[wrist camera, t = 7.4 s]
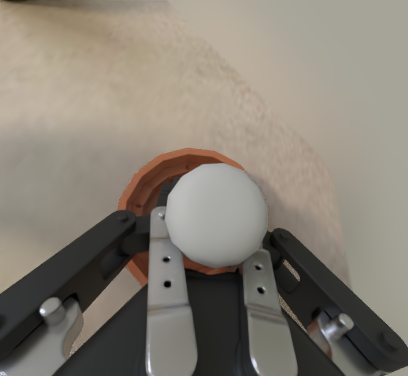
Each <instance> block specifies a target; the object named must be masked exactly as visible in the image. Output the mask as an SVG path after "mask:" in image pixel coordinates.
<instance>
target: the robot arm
mask: <svg viewBox="0 0 408 376" xmlns="http://www.w3.org/2000/svg"><path fill="white" fill-rule="evenodd" d="M179 180H180V177H174V179H173V183H168V182H166V183H164V184H163V185H162V187H161V190H160V194H159V197H158V200H157V204H156V207H155V208H154V209H153V210H152V211H151V213H150V214H148V215H144V216H136V215H135V213H133V212H132V211H129V210H119V211H116V212H113V213H112V214H111V215H109V216H108V217H106V218H105V219H104V220H102V221H101V222H99V223H98V224H97V225H95V226H94V227H92V228H91V229H90V230H88V231H87V232H86V233H84V234H83V235H81V236H80V237H79V238H77V239H76V240H74V241H73V242H72V243H70V244H69V245H68V246H66V247H65V248H63V249H62V250H61V251H59V252H58V253H56V254H55V255H54V256H52V257H51V258H49V259H48V260H47V261H45V262H44V263H43V264H41V265H40V266H38V267H37V268H36V269H34V270H33V271H31V272H30V273H29V274H27V275H26V276H25V277H23V278H22V279H20V280H19V281H18V282H16V283H15V284H13V285H12V286H11V287H9V288H8V289H6V290H5V291H4V292H2V293H1V294H0V376H384V375H386V374H389V373H391V372H394V371H396V370H399V369H401V368H404V367H406V366H408V347H407V346H406V344H405V343H404V341H403V340H402V339H401V338H400V337H399V336H398V335H397V334H396V333H395V332H394V331H393V330H392V329H391V328H390V327H389V326H388V325H387V324H386V323H385V322H384V321H383V320H382V319H381V318H379V317H378V316H377V315H376V314H375V313H374V312H373V311H372V310H371V309H370V308H369V307H368V306H367V305H366V304H365V303H364V302H363V301H362V300H361V299H360V298H358V297H357V296H356V295H355V294H354V293H353V292H352V291H351V290H350V289H349V288H348V287H347V286H346V285H345V284H344V283H343V282H342V281H341V280H340V279H339V278H338V277H336V276H335V275H334V274H333V273H332V272H331V271H330V270H329V269H328V268H327V267H326V266H325V265H324V264H323V263H322V262H321V261H320V260H319V259H318V258H317V257H315V256H314V255H313V254H312V253H311V252H310V251H309V250H308V249H307V248H306V247H305V246H304V245H303V244H302V243H301V242H300V241H299V240H298V239H297V238H296V237H294V236H293V235H292V234H291V233H290V232H289V231H287V230H285V229H281V228H276V229H274V230H273V232H269V231H267V232H266V234H265V236H264V238H263V240H262V242H261V244H260V247H259V249H258V250H257V251H256V252H255V253H253V254H252V255H251V256H249V257H248V258H247V259H245V260H244V261H243V262H241V263H240V264H237V265H232V266H226V272H224V273H218V274H213V275H209V274H205V273H202V272H199V271H196V270H193V269H190V268H184V262H183V255H182V251H181V250H180V249H179V248H177V247H176V246H175V245H174V244H173V243H172V241H171V238H170V235H169V232H168V228H167V225H166V222H165V214H166V207H167V199H168V195H169V194H170V193H171V191H172V190H173V188H174V187H175V185H176V184H177V183H178V181H179ZM146 251H149V268H148V283H147V284H146V285H145V286H144V287H143V288H142V289H140V290H139V291H138V292H137V293H136V294H135V295H134V296H133V297H132V298H131V299H130V300H129V301H128V302H127V303H126V304H125V305H124V306H123V307H122V308H121V309H120V310H119V311H118V312H116V313H115V314H114V315H113V316H112V317H111V318H110V319H109V320H108V321H107V322H106V323H105V324H104V325H103V326H102V327H101V328H100V329H99V330H98V331H97V332H96V333H95V334H94V335H93V336H91V337H90V338H89V339H88V340H87V341H86V342H85V343H84V344H83V345H82V346H81V347H80V348H79V349H78V350H77V351H76V352H75V353H74V354H73V355H72V356H71V357H70V358H69V356H70V350H71V347H72V345H73V343H74V341H75V340H76V338H77V337H78V335H79V334H80V332H81V330H82V327H83V321H84V320H83V316H82V314H83V312H84V311H85V310H86V309H87V308H88V307H89V306H90V305H91V304H92V302H93V301H94V300H95V299H96V298H97V297H98V296H99V295H100V294H101V292H102V291H103V290H104V289H105V288H106V287H107V286H108V285H109V284H110V282H111V281H112V280H113V279H114V278H115V277H116V276H117V275H118V274H119V273H120V271H121V270H122V269H123V268H124V267H125V266H126V265H127V264H128V263H129V261H130V260H131V259H132V258H133V257H134V256H135V254H136V253H141V252H146ZM285 259H286V260H287V261H288V263H289V264H290V265H291V266H292V267H293V268H294V269H295V270H296V272H297V273H298V274H299V276H300V282H299V281H298V280H297V279H296V278H295V277H294V275H293V274H292V273H291V272H290V271H289V270H288V269H287V267H286V266H285V265H284V264H283V262H284V261H285ZM277 291H278V292H277ZM278 293H279V294H280V295H281V297H282V298H283V299H284V301H285V302H286V303H287V305H288V306H289V307H290V309H291V310H292V311H293V313H294V314H295V316H296V317H297V318H298V320H299V321H300V322H301V324H302V325H303V326H304V328H305V329H306V330H307V333H308V335H307V333H306V332H305V331H304V330H303V329H302V328H301V327H300V326H299V325H298V324H297V323H296V322H295V321H294V320H293V319H292V318H291V317H290V315H289V314H288V313H287V312H286V311H285V310H284V309H283V308H282V307H281V306H280V301H279V297H278Z"/></svg>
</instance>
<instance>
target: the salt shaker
mask: <svg viewBox="0 0 408 376" xmlns="http://www.w3.org/2000/svg"><path fill="white" fill-rule="evenodd" d="M165 222H166V225H167V228H168V232H169V235H170V238H171V241H172V243H173V244H174V245H175V246H176V247H177V248H179V249H180V250H181V251H182V253H183V254H184V255H185V256H186V257H187V258H188V259H189V260H190V261H193V262H196V263H199V264H202V265H205V266H208V267H211V268H221V267H226V266H232V265H237V264H240V263H241V262H243V261H244V260H245V259H247V258H248V257H249V256H251V255H252V254H253V253H255V252H256V251H257V250H258V249H259V247H260V244H261V242H262V240H263V238H264V236H265V234H266V232H267V230H268V205H267V202H266V200H265V198H264V195H263V193H262V190H261V188H260V186H259V185H258V184H257V183H256V182H255V181H254V180H253V179H252V178H251V177H250V176H249V175H248V174H247V173H246V172H245V171H244V170H241V169H238V168H236V167H233V166H230V165H228V164H225V163H219V164H202V165H201V166H199V167H197V168H195V169H194V170H192V171H190V172H189V173H187V174H185V175H183V176H182V177H181V178H180V180H179V181H178V183H177V184H176V185H175V187H174V188H173V190H172V191H171V193H170V194H169V195H168V199H167V207H166V214H165Z"/></svg>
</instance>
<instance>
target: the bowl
mask: <svg viewBox="0 0 408 376" xmlns="http://www.w3.org/2000/svg"><path fill="white" fill-rule="evenodd" d="M219 163H225V164H228V165H230V166H233V167H236V168H238V169H241V170H244V169H243V168H242V167H241V166H240V165H239V164H238V163H236V162H235V161H233V160H231V159H229V158H227V157H225V156H223V155H221V154H219V153H217V152H215V151H210V150H201V149H193V148H185V149H181V150H177V151H173V152H169V153H166V154H162V155H159V156H158V157H156V158H155V159H154V160H152V161H151V162H150V163H148V164H147V165H145V166H144V167H143V168H141V169H140V170H139V171H137V172H136V173H135V175H134V176H133V178H132V179H131V181H130V183H129V184H128V186H127V188H126V189H125V191H124V192H123V194H122V196H121V197H120V200H119V205H118V211H119V210H129V211H132V212H133V213H135V215H136V216H144V215H148V214H150V213H151V211H152V210H153V209H154V208H155V207H156V204H157V200H158V197H159V194H160V190H161V187H162V185H163V184H164V183H166V182H168V183H173V179H174V177H180V178H181V177H182V176H183V175H185V174H187V173H189V172H190V171H192V170H194V169H195V168H197V167H199V166H201V165H202V164H219ZM244 171H245V170H244ZM245 172H246V171H245ZM246 173H247V172H246ZM267 231H268V230H267ZM182 255H183V262H184V268H190V269H193V270H196V271H199V272H202V273H205V274H209V275H213V274H218V273H224V272H226V267H221V268H211V267H208V266H205V265H202V264H199V263H196V262H193V261H190V260H189V259H188V258H187V257H186V256H185V255H184V254H183V253H182ZM126 267H127V269H128V270H129V271H130V272H131V274H132V275H133V276H134V277H135V278H136V280H137V281H138V282H139V283H140V284H141V286H142V287H144V286H145V285H146V284H147V283H148V268H149V251H146V252H141V253H136V254H135V256H134V257H133V258H132V259H131V260H130V261H129V263H128V264H127V265H126Z"/></svg>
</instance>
